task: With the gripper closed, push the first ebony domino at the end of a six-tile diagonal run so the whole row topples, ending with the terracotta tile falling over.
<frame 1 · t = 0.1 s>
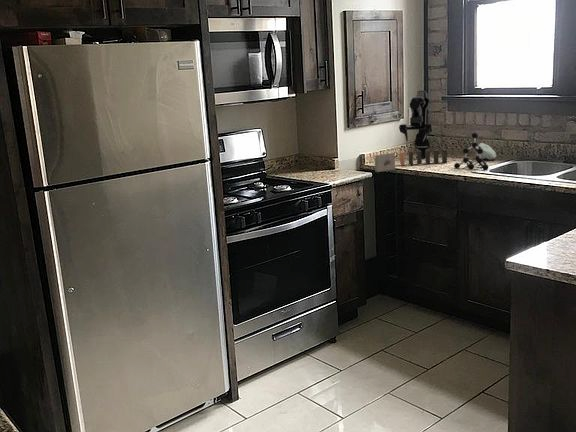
hand: (415, 141, 365), 15 cm above the countertop, tool tilted 35°, fingers open, 9 cm apart
domino 4: (419, 164, 376), on the countertop
decorative stone: (485, 159, 377), on the countertop
domino 1: (444, 162, 375), on the countertop
domino 5: (410, 164, 376), on the countertop
domino 6: (402, 165, 376), on the countertop
domino 2: (436, 163, 376), on the countertop
fossil: (385, 170, 363), on the countertop
molecular model: (476, 167, 356), on the countertop
domino 3: (427, 163, 376), on the countertop
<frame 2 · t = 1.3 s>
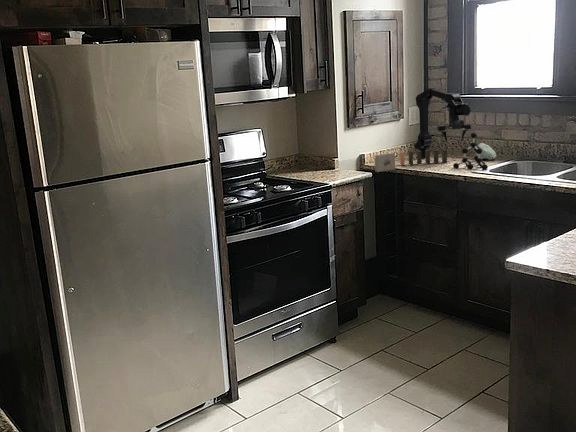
hand: (453, 141, 372), 12 cm above the countertop, tool pointing down, fingers open, 9 cm apart
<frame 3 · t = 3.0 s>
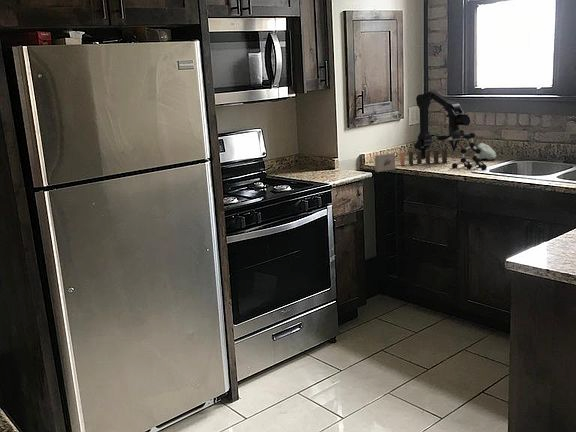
hand: (453, 151, 374), 6 cm above the countertop, tool pointing down, fingers closed
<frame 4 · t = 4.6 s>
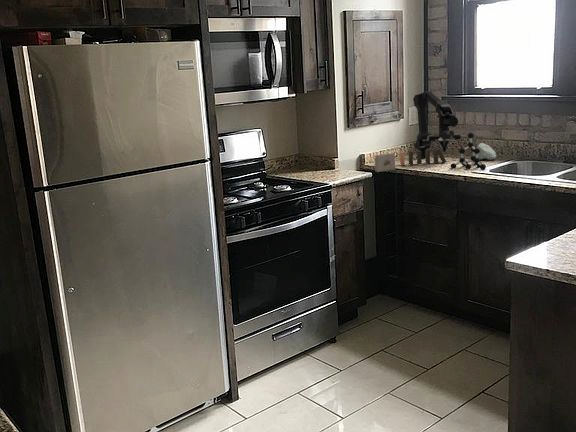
hand: (443, 151, 374), 6 cm above the countertop, tool pointing down, fingers closed
domino 1: (444, 162, 375), on the countertop, tilted 26°
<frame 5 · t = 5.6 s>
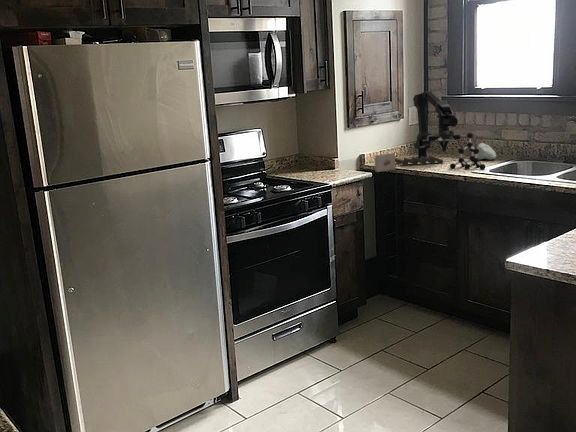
hand: (443, 151, 374), 7 cm above the countertop, tool pointing down, fingers closed
domino 4: (417, 162, 376), point 1 cm above the countertop, tilted 70°, touching domino 3, domino 5
domino 1: (442, 161, 375), point 1 cm above the countertop, tilted 68°, touching domino 2
domino 5: (407, 163, 376), point 1 cm above the countertop, tilted 72°, touching domino 4, domino 6
domino 6: (400, 164, 376), on the countertop, tilted 90°, touching domino 5
domino 2: (434, 161, 375), point 1 cm above the countertop, tilted 69°, touching domino 1, domino 3
domino 3: (425, 162, 375), point 1 cm above the countertop, tilted 69°, touching domino 2, domino 4
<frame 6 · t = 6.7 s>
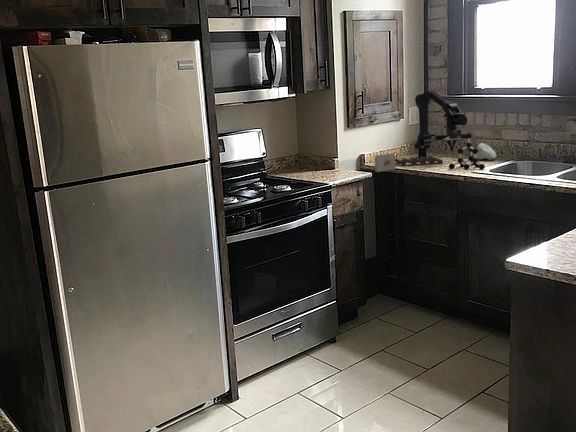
hand: (451, 151, 373), 7 cm above the countertop, tool pointing down, fingers closed
domino 4: (415, 163, 376), point 1 cm above the countertop, tilted 72°
domino 1: (441, 161, 375), point 1 cm above the countertop, tilted 68°
domino 5: (405, 163, 376), point 1 cm above the countertop, tilted 67°, touching domino 6
domino 2: (433, 161, 375), point 1 cm above the countertop, tilted 70°, touching domino 3
domino 3: (424, 162, 375), point 1 cm above the countertop, tilted 70°, touching domino 2
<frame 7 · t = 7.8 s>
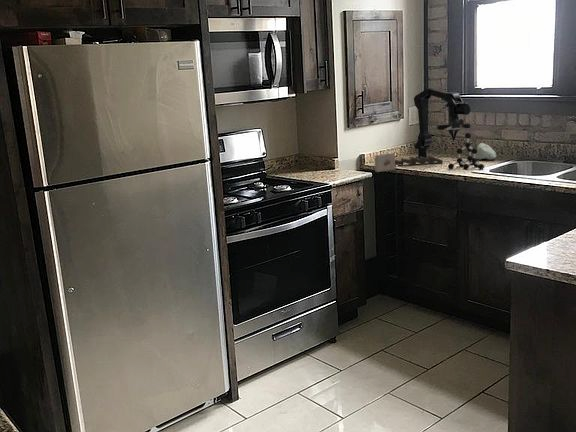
hand: (453, 140, 374), 12 cm above the countertop, tool pointing down, fingers closed
domino 4: (414, 163, 376), point 1 cm above the countertop, tilted 73°, touching domino 3, domino 5
domino 1: (441, 161, 375), point 1 cm above the countertop, tilted 69°, touching domino 2
domino 5: (402, 163, 376), point 1 cm above the countertop, tilted 72°, touching domino 4, domino 6
domino 2: (433, 162, 375), point 1 cm above the countertop, tilted 70°, touching domino 1, domino 3
domino 3: (424, 162, 375), point 1 cm above the countertop, tilted 70°, touching domino 2, domino 4
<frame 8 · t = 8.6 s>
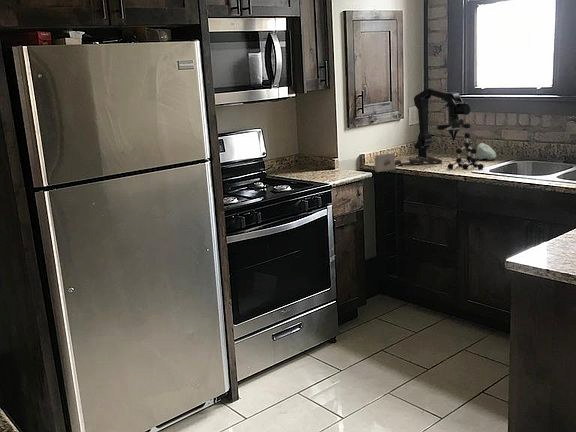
hand: (453, 140, 374), 12 cm above the countertop, tool pointing down, fingers closed
domino 4: (413, 163, 376), on the countertop, tilted 90°, touching domino 3
domino 5: (400, 161, 375), point 2 cm above the countertop, tilted 90°, touching domino 6
domino 3: (423, 162, 375), point 1 cm above the countertop, tilted 77°, touching domino 2, domino 4
at the end: domino 6 tilted 90°; domino 1 tilted 69° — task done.
